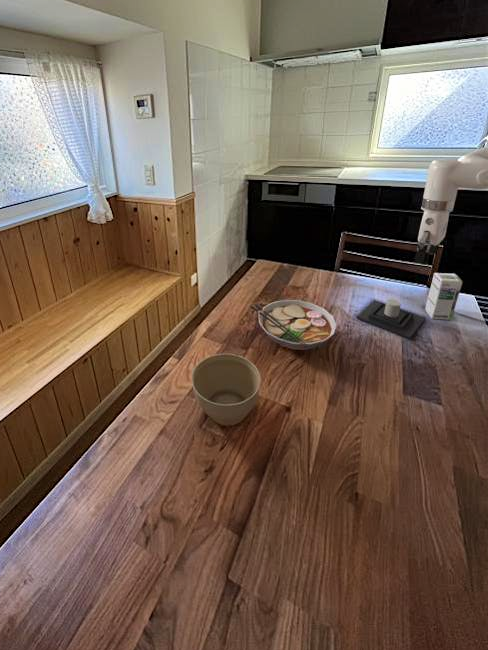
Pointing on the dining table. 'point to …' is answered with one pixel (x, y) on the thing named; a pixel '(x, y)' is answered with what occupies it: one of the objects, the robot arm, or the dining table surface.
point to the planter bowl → (226, 387)
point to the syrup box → (443, 295)
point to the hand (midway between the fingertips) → (425, 257)
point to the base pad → (402, 329)
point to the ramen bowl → (296, 323)
